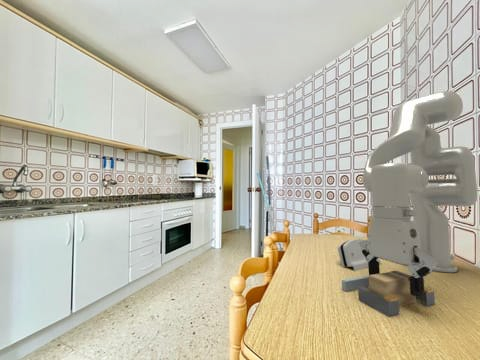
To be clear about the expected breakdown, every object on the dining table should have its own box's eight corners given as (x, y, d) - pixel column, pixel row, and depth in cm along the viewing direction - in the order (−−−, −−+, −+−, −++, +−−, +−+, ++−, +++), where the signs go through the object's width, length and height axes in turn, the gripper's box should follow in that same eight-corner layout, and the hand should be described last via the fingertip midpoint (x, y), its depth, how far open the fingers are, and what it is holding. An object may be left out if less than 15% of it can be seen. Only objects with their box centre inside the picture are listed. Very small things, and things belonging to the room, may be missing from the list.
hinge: (355, 271, 69) (344, 240, 72) (342, 271, 72) (333, 242, 76) (382, 263, 77) (371, 236, 80) (369, 264, 80) (360, 238, 84)
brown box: (397, 294, 53) (396, 270, 53) (416, 302, 49) (415, 276, 49) (369, 301, 49) (368, 274, 50) (386, 310, 45) (385, 281, 46)
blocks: (401, 290, 55) (400, 277, 55) (435, 304, 48) (434, 289, 48) (358, 300, 49) (358, 285, 50) (389, 317, 42) (389, 299, 43)
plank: (378, 282, 60) (378, 273, 60) (383, 284, 58) (382, 275, 59) (341, 289, 55) (341, 279, 55) (345, 291, 54) (345, 281, 54)
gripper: (444, 217, 44) (449, 299, 43) (368, 210, 60) (371, 270, 59) (422, 218, 41) (426, 306, 40) (349, 211, 58) (351, 274, 56)
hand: (393, 285), depth 50 cm, fingers open, 9 cm apart
